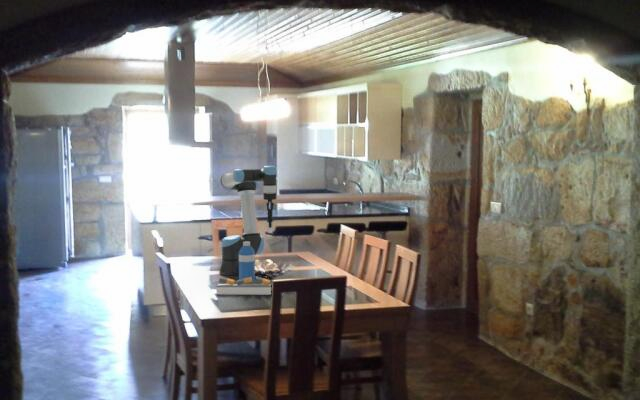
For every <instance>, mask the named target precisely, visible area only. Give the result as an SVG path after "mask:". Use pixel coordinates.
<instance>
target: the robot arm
mask: <svg viewBox="0 0 640 400" xmlns="http://www.w3.org/2000/svg"><path fill="white" fill-rule="evenodd" d="M219 181H220V185H221V186H222V187H223V188H224V189H226V190H229V191H237V194H238V195H239V196H240V204H241V215H242V225H243V226H242V227H243V233H242V234H241V235H239V234H237V235H228V236H225V237H223V238H222V239H221V264H220V267H219V270H218V272H219V275H221V276H229V277H230V276H231V277H232V276H239V251H240V249H241V248H242V246H243V242H245V241H248V242H250V246H251V247H252V248H253V250H254V251H255V256H258V255H259V256H260V255H261V254H262V253H263V251H264V249H265V239H264V236H263V235H261V233H260V232H259V231H258V224H257V214H256V213H257V212H256V205H255V204H256V203H255V193H256V191H257V190H258V188H259V182H262V183H263V186H262V190H263V194H262V195H263V200H265V201H267V202H266V211H267V220H266V223H267V233H268V234H273V232H274V229H273V228H274V226H273V223H274V218H273V210H274V202H273V200H277V193H276V192H277V167H276V166H274V165H264V166H263V168H250V169H249V168H248V169H247V168H243V169H242V168H237V169H234V170H233V171H230V172H226V173H223V174H222V175H221V176H220V180H219Z"/></svg>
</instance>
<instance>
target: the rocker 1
mask: <svg viewBox="0 0 640 400" xmlns="http://www.w3.org/2000/svg"><path fill="white" fill-rule="evenodd" d="M234 281H236V280H235V279H232V278H228V277H224V276H220V277H219V279H218V283H219V282H222V283H226V284H230V285H233V284H234Z"/></svg>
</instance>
